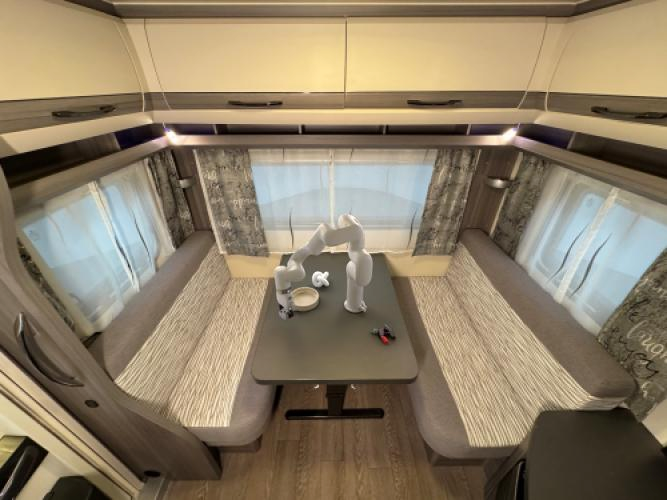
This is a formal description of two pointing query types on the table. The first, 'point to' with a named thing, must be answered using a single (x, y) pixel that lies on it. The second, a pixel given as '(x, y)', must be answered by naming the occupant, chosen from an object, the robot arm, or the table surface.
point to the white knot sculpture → (320, 279)
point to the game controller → (284, 313)
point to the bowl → (305, 298)
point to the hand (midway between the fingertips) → (286, 313)
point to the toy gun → (384, 333)
